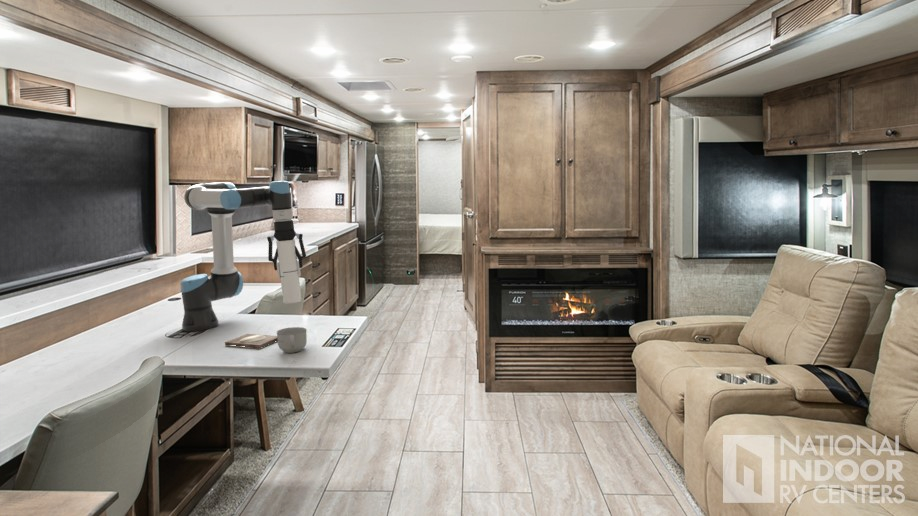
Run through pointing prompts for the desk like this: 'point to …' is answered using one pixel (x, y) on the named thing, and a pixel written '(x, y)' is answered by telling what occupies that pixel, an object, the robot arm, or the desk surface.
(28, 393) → the desk surface
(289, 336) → the teacup
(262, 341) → the board
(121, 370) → the desk surface
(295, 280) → the cylindrical container
